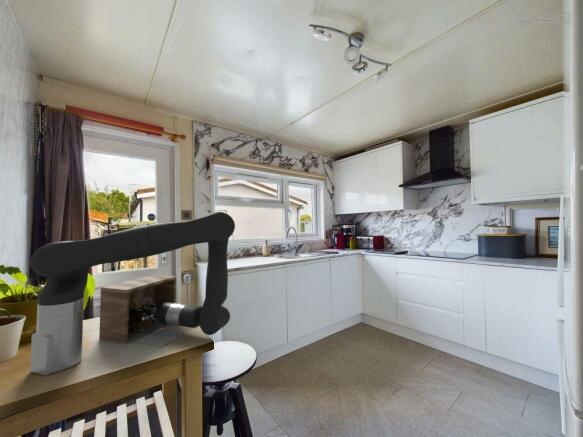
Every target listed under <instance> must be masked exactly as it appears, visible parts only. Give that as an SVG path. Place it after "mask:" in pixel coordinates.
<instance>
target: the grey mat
mask: <svg viewBox="0 0 583 437" xmlns="http://www.w3.org/2000/svg"><path fill="white" fill-rule="evenodd" d="M185 334H186V331H184V330H177V329H171V328H165V327H161V328H159V329H157V330H154V332H151V333H149V334H148V335H145V336H143V337H141V338H140V339H138V340H137V343H141V344H145V345H146V344H147V345H149V346H151V345H152V346H157V347H164V346H166V345H168V344H170V343H171V342H173V341H174V340H176V339H178V338H180V337H181V336H183V335H185Z"/></svg>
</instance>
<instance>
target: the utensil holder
mask: <svg viewBox="0 0 583 437" xmlns="http://www.w3.org/2000/svg"><path fill="white" fill-rule="evenodd" d="M147 297H150V296H147ZM147 300H149V299H147ZM133 301H134V305H135V306H136V308H137V309H145V308H151V307H148V306H147V305H148V304H147V305H146V306H145V303H144V306H145V307H139V308H138V307H137V305H138V303H137V300H136V298H135V297H133ZM150 302H151V301H150ZM141 313H143V312H141ZM147 315H148V310H147ZM133 318H134V317H133ZM152 325H153V319H145V322H139V321H136V320H134V319H133V326H132V328H133V331H137V332H138V331H144V330H145V331H146V330H148V329H150V328H151V327H152Z"/></svg>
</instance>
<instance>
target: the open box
mask: <svg viewBox="0 0 583 437" xmlns="http://www.w3.org/2000/svg"><path fill="white" fill-rule="evenodd" d="M147 296H150V297H147ZM133 297H135V298H136V300H137V303H138V305H137V307H138V308H139V307H143V304H144V303H145V304H157V303H165V302H173V303H177V302H176V300H177V276H176V275H175V276H172V275H163V274H152V275H149V276H148V275H147V276H143V277H139V278H135V279H132V280H131V279H130V280H127V281H122V282H118V283H113V284H108V285H104V286H100V300H99V301H100V302H99V304H100V306H99V334H98V335H99V336H98V339H99V340H103V341H109V342H114V343H120V344H124V345H125V344H127V343H128V341H129V340H128V339H129V338H128V335H129V328H130V327H133V317H134V316H133V315H129V310H130V309H132V308H133V309H137V308H136V306H135V305H134V301H133ZM147 299H149V300H147ZM150 301H151V302H150Z"/></svg>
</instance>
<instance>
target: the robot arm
mask: <svg viewBox="0 0 583 437" xmlns="http://www.w3.org/2000/svg"><path fill="white" fill-rule="evenodd" d="M235 229H236V223H235V221H234V219H233V217H232V216H231V215H230V214H228V213H226V212H224V211H215V212H213V213H210V214H209V215H205V216H203V217H199V218H195V219H191V220H187V221H174V222H173V221H171V222H170V221H169V222H160V223H159V222H158V223H152V224H147V225H146V224H145V225H142V226H137V227H132V228H128V229H124V230H121V231H120V230H119V231H117V232H112V233H109V234H105V235H102V236H98V237H94V238H88V239H83V240H75V241H74V240H63V241H56V242H50V243H48V244H45V245H43V246H41V247H40V248H38V249H37V250H36V251H35V252H34V253H32V256H31V257H30V261H29V262H30V263H29V265H30V268H31V270H33V272H34V273H36V274H37V275H39V276H42V277H44V278H45V277H46V281H45V284H44V286H43V288H42V289H41V290H40V292H39V293H38V295H37V303H36V304H37V306H36V309H37V310H36V311H37V312H36V331H35V333H32V334H31V344H30V345H31V347H30V349H31V350H30V372H31V373H35V374H39V375H42V376H48V375H51V374H53V373H57V372H61V371H63V370H67V369H69V368H71V367H73V366H75V365H77V364H78V363H80V361H81V360H82V359H83V337H84V336H83V334H84V332H83V330H84V301H85V291H86V288H87V285H88V278H89V269H90V268H92V267H95V266H99V265H100V266H101V265H104V264H110V263H119V262H126V261H131V260H133V261H134V260H137V259H138V260H139V259H143V258H148V257H151V256H152V257H153V256H158V255H161V254H165V253H168V252H172V251H175V250H178V249H181V248H184V247H185V248H186V247H188V246H192V245H193V246H194V245H196V244H197V245H198V244H204V243H205V244H206V243H207V251H208V252H207V266H206V274H205V275H206V276H205V289H204V290H205V297H204V300H203V304H202V305H201V306H200V305H199V306H198V305H191V304H185V303H182V302H180V303H179V302H176V303H173V302H165V303H157V304H148V305H147V304H145V306H146V305H147V306H148V307H151V308H145V309H133V308H132V309H130V310H129V315H133V316H134V318H133V319H134V320H136V321H139V322H145V319H152V320H155V321H157V323H158V324H159V325H165V326H171V327H183V328H189V329H190V328H191V329H196V328H198V327H199V328H200V329H201V331H202V333H203V334H205V335H206V336H212V335H214V334H216V333H217V332H219V331H220V330H221V329H222V328H224V327H225V326H226V325H228V323H229V322H230V319H231V313H230V311H229V309H228V308H227V307H225V306H223V304H224V303H225V301H226V300H227V298H228V286H229V285H228V284H229V277H228V276H229V275H228V274H229V273H228V245H229V240H230V238H231V236H232V235H233V234H234V232H235ZM145 306H144V304H143V307H145ZM147 310H148V315H147ZM141 312H143V313H141Z"/></svg>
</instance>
